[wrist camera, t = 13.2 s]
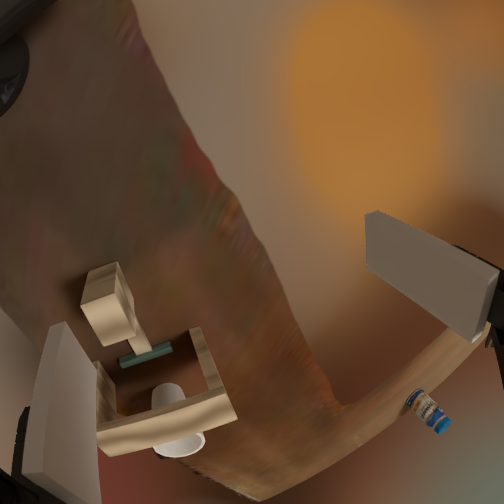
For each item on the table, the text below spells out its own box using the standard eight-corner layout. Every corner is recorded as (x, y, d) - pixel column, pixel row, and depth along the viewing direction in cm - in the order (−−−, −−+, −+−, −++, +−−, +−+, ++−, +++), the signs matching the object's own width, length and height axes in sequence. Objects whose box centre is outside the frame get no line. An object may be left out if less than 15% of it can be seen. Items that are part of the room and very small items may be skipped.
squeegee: (74, 276, 43) (64, 311, 34) (132, 255, 45) (132, 286, 37) (122, 362, 51) (124, 402, 43) (171, 345, 54) (181, 384, 45)
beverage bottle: (407, 406, 102) (437, 438, 85) (403, 400, 98) (435, 434, 81) (422, 391, 103) (453, 422, 85) (420, 385, 98) (453, 417, 81)
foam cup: (137, 401, 56) (144, 452, 45) (155, 372, 55) (165, 425, 43) (178, 411, 61) (191, 459, 49) (197, 384, 59) (214, 433, 48)
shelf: (89, 363, 49) (86, 434, 35) (199, 325, 54) (225, 393, 40) (106, 387, 52) (109, 456, 38) (210, 353, 57) (237, 419, 43)
